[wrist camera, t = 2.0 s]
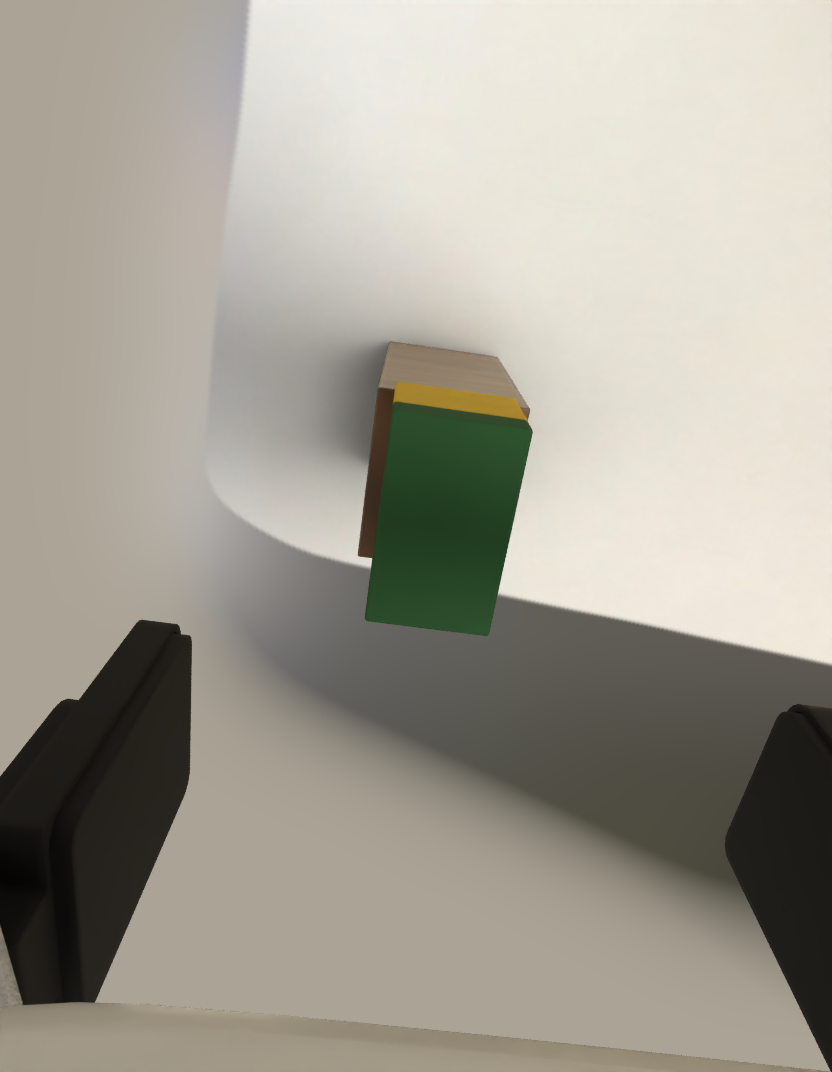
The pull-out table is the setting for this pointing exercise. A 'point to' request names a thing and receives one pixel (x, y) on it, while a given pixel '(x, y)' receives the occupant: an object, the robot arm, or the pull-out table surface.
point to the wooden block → (430, 371)
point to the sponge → (446, 508)
